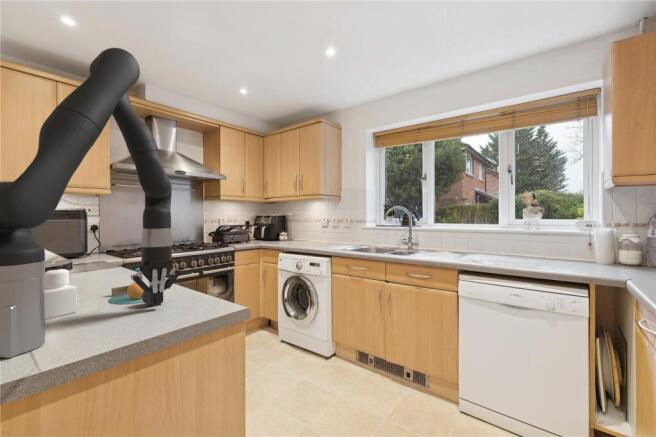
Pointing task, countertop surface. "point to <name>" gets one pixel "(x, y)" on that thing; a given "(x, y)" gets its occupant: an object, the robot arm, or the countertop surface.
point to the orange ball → (134, 291)
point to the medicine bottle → (59, 294)
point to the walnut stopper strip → (119, 290)
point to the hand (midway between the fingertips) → (156, 305)
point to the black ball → (146, 297)
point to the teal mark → (124, 299)
